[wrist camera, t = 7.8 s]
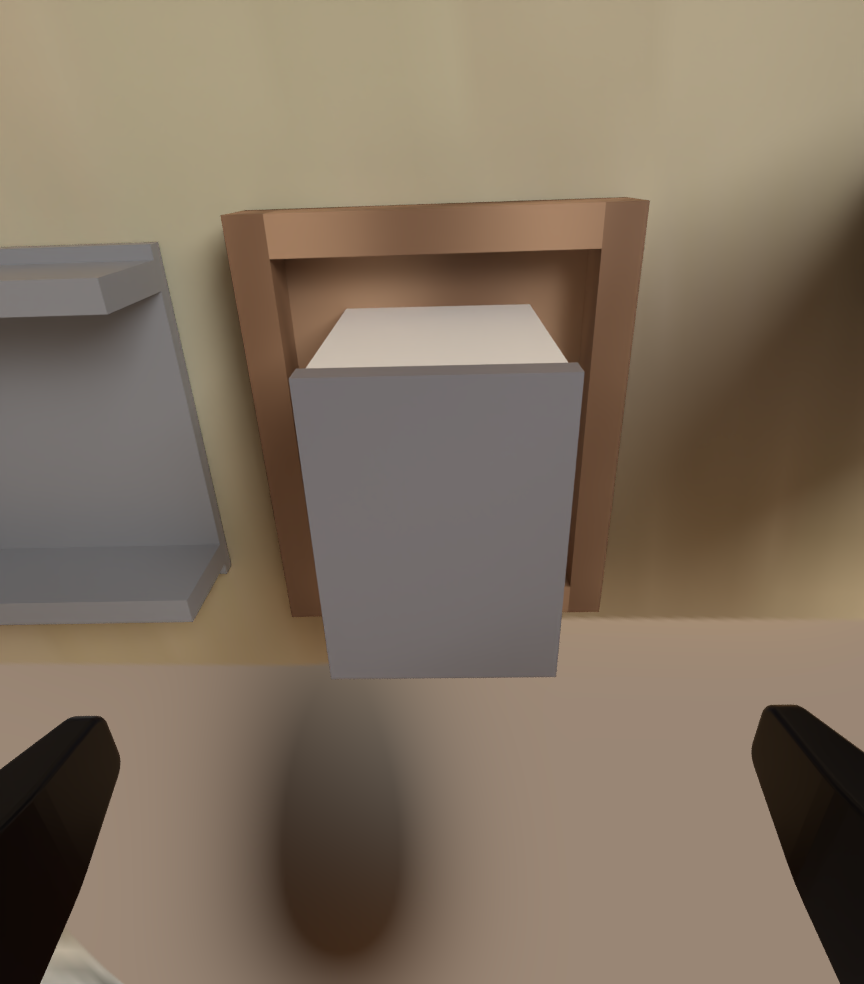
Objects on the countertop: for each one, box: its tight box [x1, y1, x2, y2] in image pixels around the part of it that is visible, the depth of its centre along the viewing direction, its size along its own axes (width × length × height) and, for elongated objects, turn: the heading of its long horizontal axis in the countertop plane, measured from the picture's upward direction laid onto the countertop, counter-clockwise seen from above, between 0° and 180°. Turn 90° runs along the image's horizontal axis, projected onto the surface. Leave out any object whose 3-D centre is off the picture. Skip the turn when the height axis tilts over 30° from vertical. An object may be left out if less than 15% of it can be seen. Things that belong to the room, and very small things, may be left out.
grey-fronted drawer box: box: [289, 304, 585, 679], centre depth 15 cm, size 5×7×7 cm
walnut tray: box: [221, 197, 650, 617], centre depth 18 cm, size 10×12×2 cm
